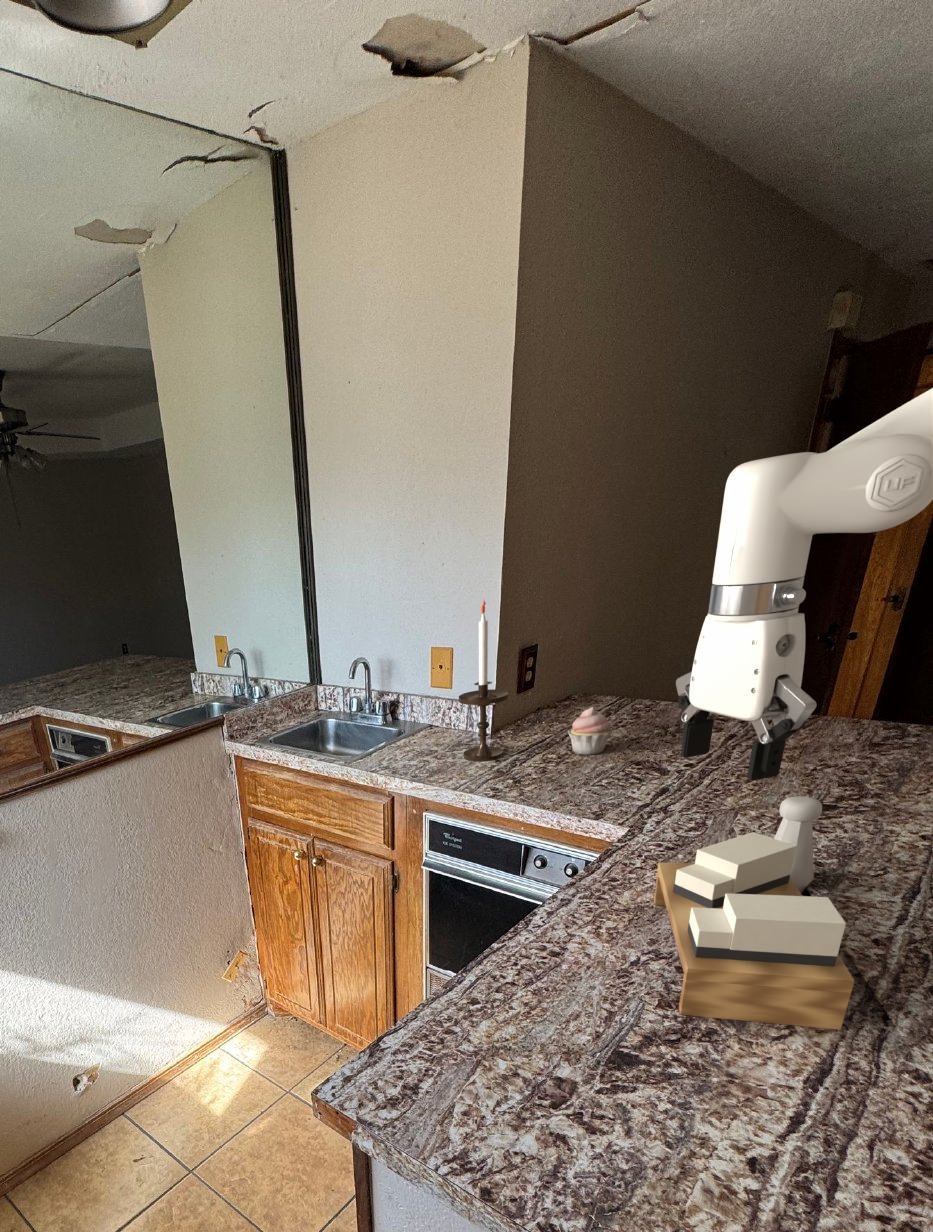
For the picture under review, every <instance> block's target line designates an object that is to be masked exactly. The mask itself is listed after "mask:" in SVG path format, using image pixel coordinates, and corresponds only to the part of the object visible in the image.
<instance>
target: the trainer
mask: <svg viewBox="0 0 933 1232" xmlns="http://www.w3.org/2000/svg"><path fill="white" fill-rule="evenodd" d="M795 851H796V846H795V845H792V844H789V843H786V842H782V841H779V840H776V839H774V837H770V836H767V835H763V834H761V833H757V832H754V831H752V832H749V833H745V834H743V835H739V836H737V837H733V838H729V839H727V840H723V841H721V842H718V843H715V844H711V845H707V846H705V847H702V848H701V847H700V848H698V849H697V850H696V855H695V862H694V863H695V864H693V865H690V866H687V867H684V868H681V869H677V872H676V879H675V884H674V887H673V892H674V893H676V894H678V895H680V896H682V897H685V898H687V899H689V900H691V901H694V902H696V903H698V904H700V905H702V906H705V907H707V908H718V907H721V906H723V905H724V900H725V894H726V893H729V894H759V893H762V892H765V891H767V890H770V889H773V888H776V887H779V886H782V885H785V884H788V883H789V878H790V874H791V869H792V864H793V860H794V855H795Z"/></svg>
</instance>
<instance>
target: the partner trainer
mask: <svg viewBox="0 0 933 1232" xmlns="http://www.w3.org/2000/svg"><path fill="white" fill-rule="evenodd" d="M846 925H847V923H846V921H845V920H844V918H843V917H842V915H841V914H840V912H839V911H838V910H837V908H836V907H835V905H834V903H833V902H832V900H831V899H830V898H829V897H828V896H810V895H809V896H807V895H802V896H783V895H756V894H729V893H726V894H725V900H724V905H723V909H718V908H695V907H692V908H691V913H690V920H689V924H688V934H689V938H690V941H691V944H692V948H693V951H694V954H695V957H701V958H716V959H730V960H745V961H760V962H775V963H789V964H804V965H819V966H835V962H836V959H837V956H838V954H839V952H840V947H841V945H842V941H843V937H844V934H845V930H846Z"/></svg>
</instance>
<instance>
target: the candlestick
mask: <svg viewBox="0 0 933 1232" xmlns="http://www.w3.org/2000/svg"><path fill="white" fill-rule="evenodd" d="M485 606H486V601H485V599H483V600H482V605H481V609H480V611H481V618H480V620H479V621H478V682H477V681H476V682H475V683H474V684H473V685H474V686H478V689H477V690H472V691H467V692H463V693H462V694H459V696H458V703H460V704H462V705H465V706H466V705H469V706H477V707H479V721H478V722H477V724H476V727H477V729H479V733H478V734H477V737H479V741H480V742H479V745H478V746H477V747H476V746H475V747H472V748H469V749H466V750H465V751H463V759H464V760H466V761H470V762H490V761H491V762H492V761H495V760H500V758H503V757H504V749H502V748H500V747H496V746H488V744H487V737H489V733H488V731H487V729H488V728H489V727H490V723H489V722H488V721H487V707H489V706H490V705H492V704H498V703H501V702H504V701H506V700H508V699H509V692H508V691H507V690H503V689H489V685H491V684H493V681H490V680H489V681H488V656H489V655H488V653H489V651H488V650H489V647H488V646H489V645H488V640H489V639H488V635H489V633H488V632H489V631H488V630H489V629H488V628H489V627H488V626H489V625H488V623H489V621H488V620H487V619H486V616H485V613H486V607H485Z"/></svg>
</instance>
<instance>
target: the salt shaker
mask: <svg viewBox="0 0 933 1232" xmlns="http://www.w3.org/2000/svg"><path fill="white" fill-rule="evenodd" d="M822 811H823V804H822V802H821V801H820V800H819V799H816V798H815V797H810V796H801V795H799V796H798V795H797V796H790V797H787V798H785V799H784V800H782V801H781V802H780V805H779V815H780V817H781V818H782V820H781V822H780V824H779V826H778V829H777V831H776V833H775V835H774V837H773V839H776V840H779V841H782V842H786V843H789V844H792V845H795V846H796V851H795V855H794V860H793V864H792V869H791V874H790V877H791V879H792V880H793V882H794V883H795V885H796V887H797V888H798V890H799V891H800V893H801V894H802V893H803V892H804V890H806V888H807V887H808V886H809V884H811V883H812V881H813V880H814V877H815V874H814V872H815V870H814V869H815V868H814V866H815V865H814V864H815V863H814V837H813V836H814V834H813V833H814V832H813V831H814V828H813V827H814V821H817V820H818V819H819V818H820V816H821V815H822Z"/></svg>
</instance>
